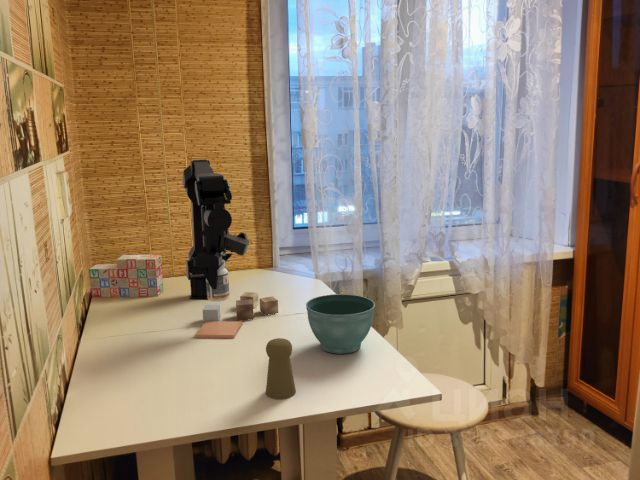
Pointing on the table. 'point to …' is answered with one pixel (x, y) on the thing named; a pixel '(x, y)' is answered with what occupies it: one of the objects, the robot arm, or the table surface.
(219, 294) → the pill bottle
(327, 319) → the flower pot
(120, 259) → the stack of blocks
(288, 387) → the olive pawn
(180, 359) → the table surface
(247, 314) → the walnut cube
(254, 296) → the beech block
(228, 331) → the terracotta tile
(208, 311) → the grey painted block
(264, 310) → the oak block
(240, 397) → the table surface
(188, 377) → the table surface
